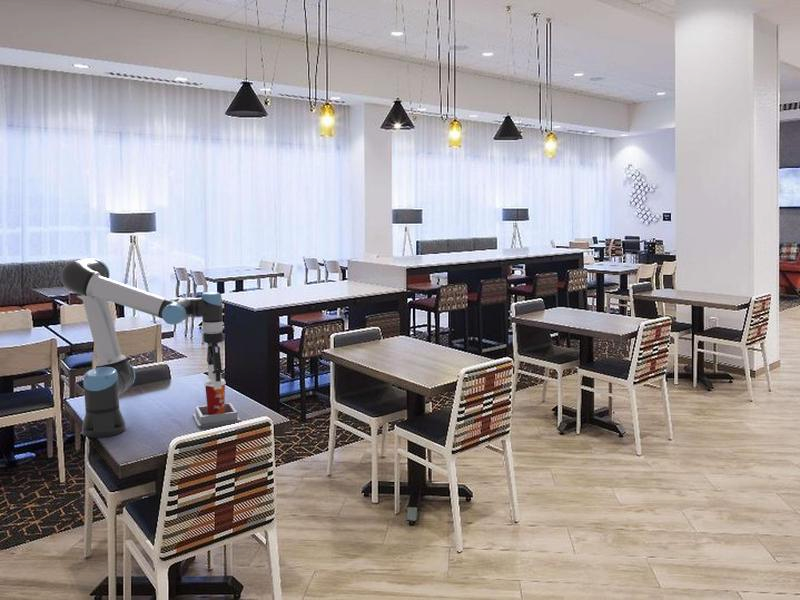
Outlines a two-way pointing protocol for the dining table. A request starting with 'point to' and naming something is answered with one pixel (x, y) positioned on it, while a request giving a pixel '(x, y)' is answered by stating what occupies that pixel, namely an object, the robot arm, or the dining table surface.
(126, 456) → the dining table surface
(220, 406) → the coffee cup
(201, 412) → the tray
